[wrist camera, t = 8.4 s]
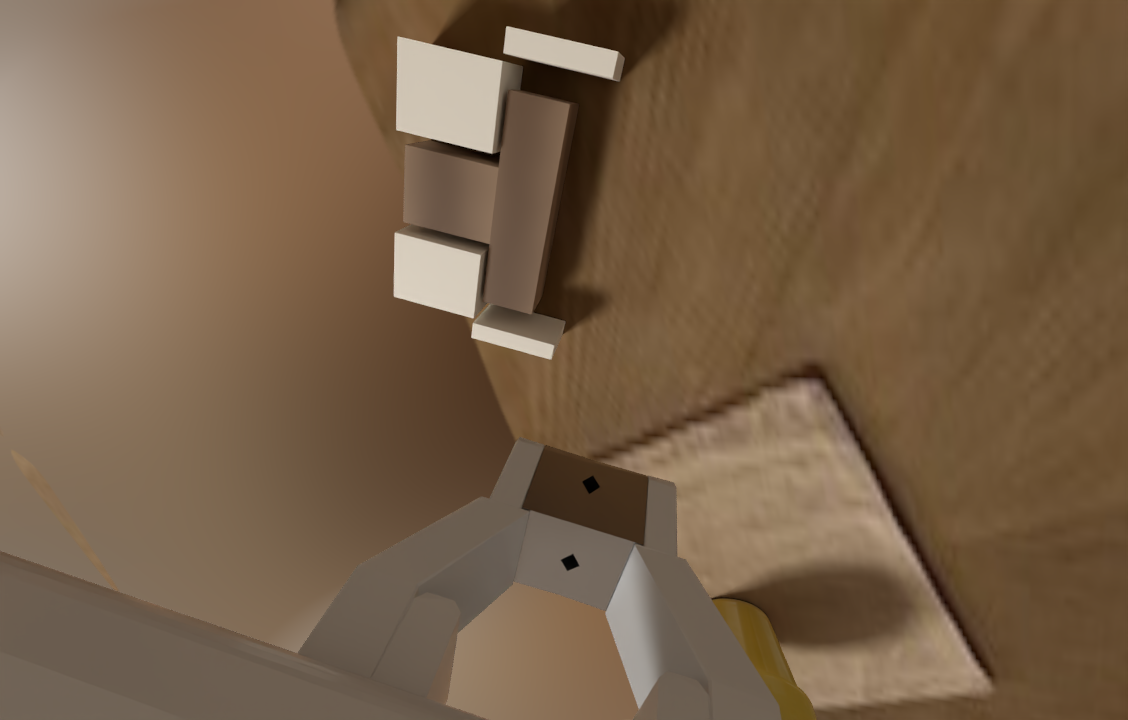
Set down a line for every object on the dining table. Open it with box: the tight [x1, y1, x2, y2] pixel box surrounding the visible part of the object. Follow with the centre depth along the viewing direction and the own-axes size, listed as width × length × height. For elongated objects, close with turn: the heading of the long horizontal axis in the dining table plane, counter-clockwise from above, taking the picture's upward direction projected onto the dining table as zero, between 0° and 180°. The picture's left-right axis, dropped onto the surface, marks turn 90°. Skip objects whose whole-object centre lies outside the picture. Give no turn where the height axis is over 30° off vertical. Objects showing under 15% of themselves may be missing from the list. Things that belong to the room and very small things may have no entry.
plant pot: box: [712, 598, 817, 720], centre depth 37 cm, size 10×10×10 cm
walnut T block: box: [403, 89, 579, 315], centre depth 26 cm, size 8×11×3 cm
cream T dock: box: [394, 26, 625, 360], centre depth 26 cm, size 10×16×4 cm, turn 168°
